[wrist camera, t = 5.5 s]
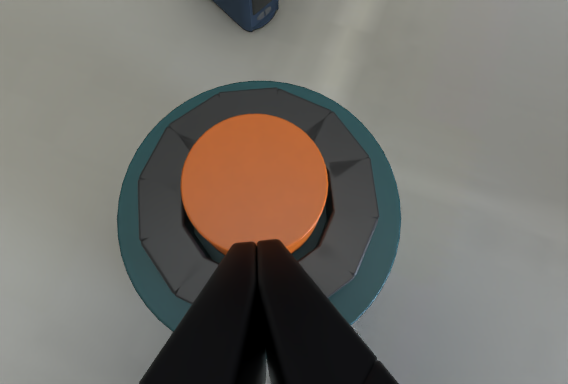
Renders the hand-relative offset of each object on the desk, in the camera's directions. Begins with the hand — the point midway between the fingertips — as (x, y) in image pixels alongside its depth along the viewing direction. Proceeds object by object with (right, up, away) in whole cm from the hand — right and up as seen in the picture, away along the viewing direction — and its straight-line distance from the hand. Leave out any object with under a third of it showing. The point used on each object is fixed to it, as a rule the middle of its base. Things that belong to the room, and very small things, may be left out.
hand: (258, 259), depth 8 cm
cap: (0, -1, +13) cm, 13 cm away
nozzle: (0, +1, +4) cm, 4 cm away
